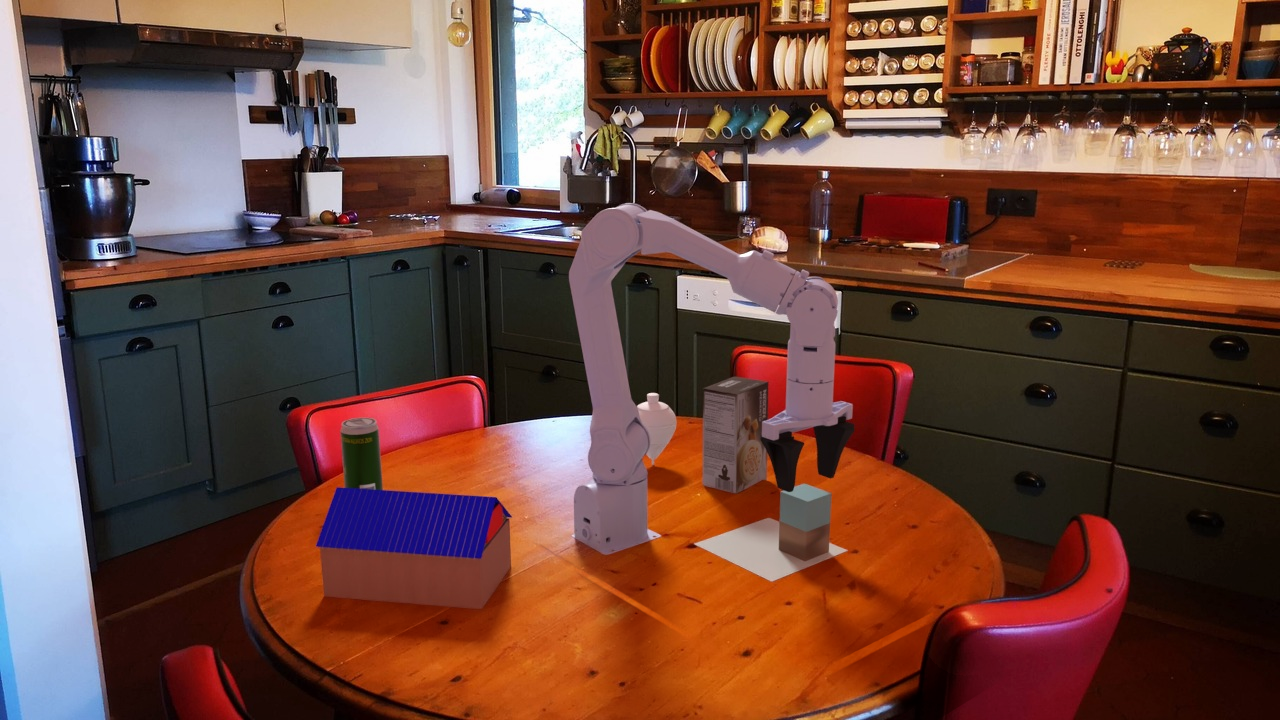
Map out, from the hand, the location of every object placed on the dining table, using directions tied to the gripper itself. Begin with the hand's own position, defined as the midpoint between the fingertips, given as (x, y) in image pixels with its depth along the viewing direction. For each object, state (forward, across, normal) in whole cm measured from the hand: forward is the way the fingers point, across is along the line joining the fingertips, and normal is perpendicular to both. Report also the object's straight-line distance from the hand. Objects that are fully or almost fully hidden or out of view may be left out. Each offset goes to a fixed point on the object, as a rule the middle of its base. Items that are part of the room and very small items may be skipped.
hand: (806, 482), depth 122 cm
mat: (+10, -2, +4) cm, 11 cm away
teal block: (+5, 0, 0) cm, 5 cm away
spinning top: (+10, +7, +39) cm, 41 cm away
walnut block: (+9, 0, 0) cm, 9 cm away
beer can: (+10, -36, +54) cm, 66 cm away
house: (+10, -42, +24) cm, 49 cm away
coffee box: (+10, +11, +24) cm, 28 cm away
